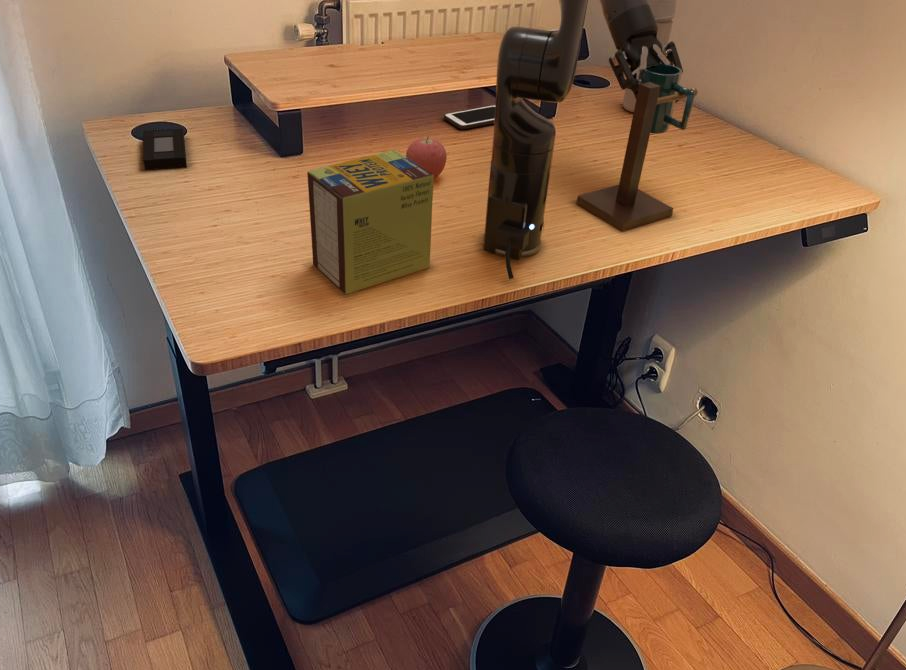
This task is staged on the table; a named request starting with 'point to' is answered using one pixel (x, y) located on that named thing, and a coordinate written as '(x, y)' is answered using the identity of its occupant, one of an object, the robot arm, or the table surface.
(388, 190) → the protein box
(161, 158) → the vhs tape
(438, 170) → the apple
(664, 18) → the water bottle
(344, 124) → the table surface
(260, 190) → the table surface
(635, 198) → the mug stand
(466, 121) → the cell phone
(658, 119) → the mug
